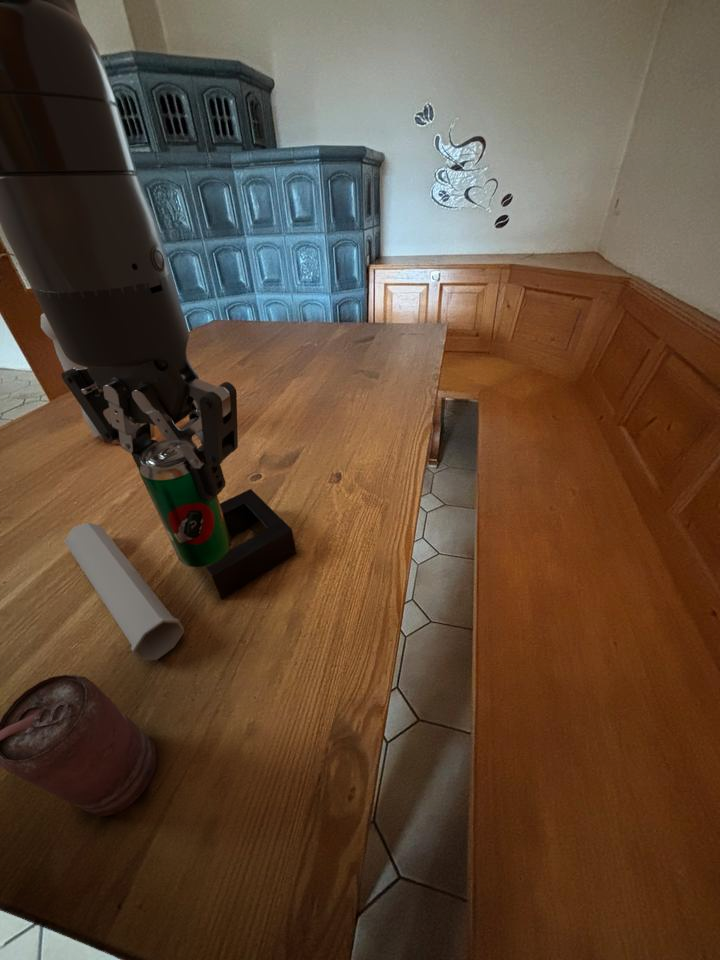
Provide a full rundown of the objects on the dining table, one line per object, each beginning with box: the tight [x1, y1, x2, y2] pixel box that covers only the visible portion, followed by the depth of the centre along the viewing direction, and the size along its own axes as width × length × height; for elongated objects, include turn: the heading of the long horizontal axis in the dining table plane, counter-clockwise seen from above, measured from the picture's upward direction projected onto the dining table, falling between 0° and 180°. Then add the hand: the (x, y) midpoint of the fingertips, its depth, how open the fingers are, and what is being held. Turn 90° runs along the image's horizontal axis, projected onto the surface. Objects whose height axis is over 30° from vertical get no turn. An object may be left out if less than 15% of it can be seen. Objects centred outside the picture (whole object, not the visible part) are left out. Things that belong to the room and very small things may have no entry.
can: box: [0, 674, 157, 817], centre depth 31 cm, size 6×6×14 cm
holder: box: [198, 488, 297, 600], centre depth 54 cm, size 12×12×5 cm
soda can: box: [138, 438, 232, 568], centre depth 34 cm, size 5×5×12 cm
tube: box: [64, 522, 185, 662], centre depth 49 cm, size 5×5×25 cm
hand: (186, 487), depth 34 cm, fingers closed on soda can, 5 cm apart
